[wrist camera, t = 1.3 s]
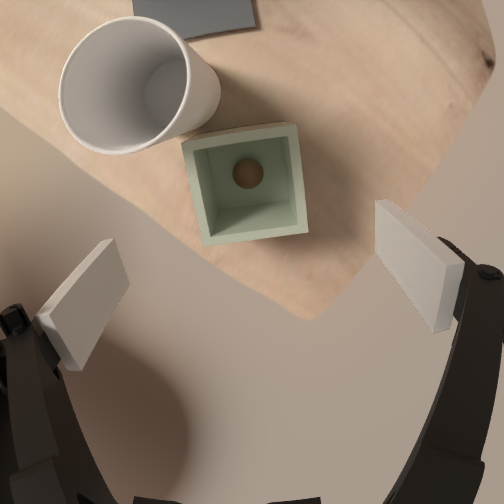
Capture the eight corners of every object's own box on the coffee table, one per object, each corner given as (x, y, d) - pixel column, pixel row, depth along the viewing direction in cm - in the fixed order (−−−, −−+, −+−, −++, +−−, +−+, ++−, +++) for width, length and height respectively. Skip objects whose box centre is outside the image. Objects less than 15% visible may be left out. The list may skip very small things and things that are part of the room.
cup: (219, 52, 26) (189, 2, 12) (223, 128, 30) (196, 146, 15) (140, 63, 26) (56, 38, 12) (146, 136, 30) (65, 166, 16)
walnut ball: (230, 158, 30) (228, 163, 28) (260, 154, 30) (261, 158, 28) (235, 186, 32) (234, 194, 29) (264, 182, 32) (266, 190, 29)
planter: (197, 134, 30) (180, 142, 23) (285, 121, 30) (296, 124, 22) (213, 215, 34) (203, 246, 27) (295, 204, 33) (308, 232, 26)
